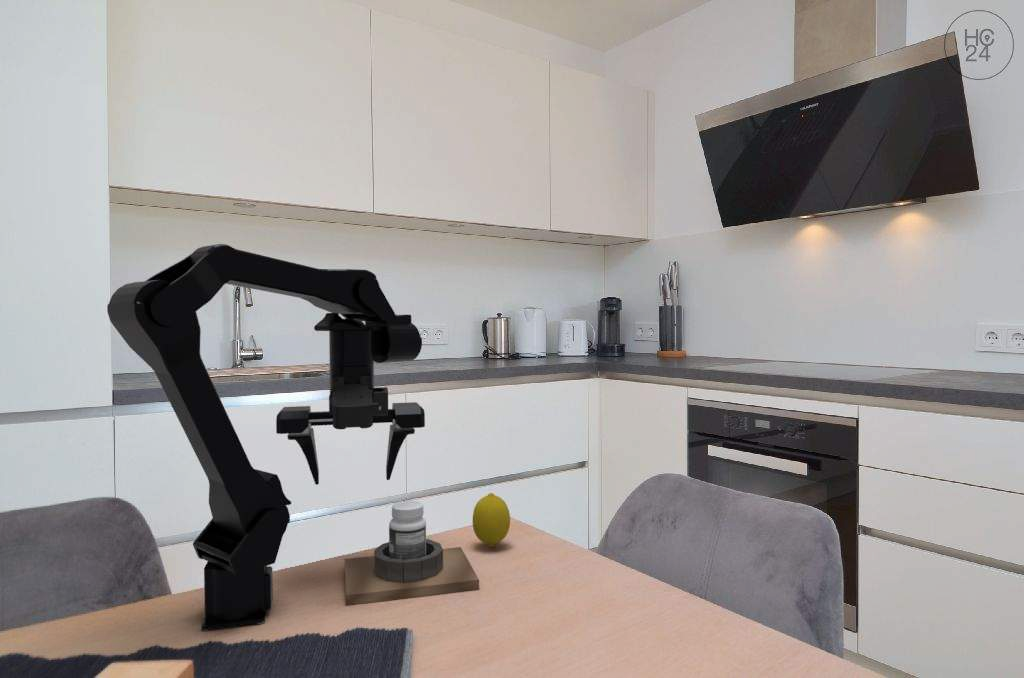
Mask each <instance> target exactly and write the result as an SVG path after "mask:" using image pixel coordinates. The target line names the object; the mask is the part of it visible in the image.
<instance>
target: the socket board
mask: <svg viewBox="0 0 1024 678" xmlns="http://www.w3.org/2000/svg"><path fill="white" fill-rule="evenodd" d="M373 551H374V553H373V555H370V556H360V557H359V556H358V557H349V558H344V561H343V562H344V583H345V606H353V605H359V604H360V605H361V604H369V603H377V602H386V601H392V600H393V601H394V600H402V599H410V598H419V597H426V596H435V595H442V594H451V593H459V592H460V593H461V592H468V591H475V590H480V579H479V577H478V575H477V573H476V571H475V570H474V568H473V566H472V564H471V563H470V561H469V559H468V557H467V556H466V553H465V552H464V550H463V549H462V547H461V546H456V547H448V548H447V547H445V548H443V547H442V545H441V543H440V542H438V541H434V540H432V539H427V538H426V556H424V557H421V558H415V559H406V560H403V559H393V558H389V541H388V542H385V543H382V544H380V545H379V546H378V547H376V548H375V549H374V550H373Z"/></svg>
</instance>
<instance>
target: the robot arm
mask: <svg viewBox="0 0 1024 678" xmlns="http://www.w3.org/2000/svg"><path fill="white" fill-rule="evenodd" d="M224 285H231V286H237V287H242V288H247V289H252V290H258V291H262V292H268V293H273V294H278V295H283V296H290V297H293V298H294V297H295V298H299V299H302V300H304V301H307V302H308V303H310V304H311V305H313V306H314V307H317V308H319V309H321V310H324V311H327V313H325V315H324V317H323V318H322V319H321V320H320V321H319V322H317V323H316V324H315V325H314V328H313V329H314V331H315V332H329V334H328V335H329V337H328V338H329V341H328V342H329V343H328V345H329V347H328V348H329V353H328V354H329V395H328V411H327V410H324V411H311V408H312V407H311V405H305V406H303V405H301V406H300V405H298V406H297V405H296V406H284V407H283V408H282V409H280V410H279V411H278V413H277V414H276V418H275V419H276V421H275V422H276V423H275V425H276V427H275V430H276V434H279V435H282V434H284V435H286V436H287V440H289V441H295V442H296V443H297V444H298V445H299V447H300V449H301V450H302V453H303V455H304V457H305V459H306V462H307V464H308V467H309V470H310V473H311V476H312V479H313V481H314V484H315V485H317V486H319V483H320V482H319V481H320V469H319V462H318V461H319V460H318V453H317V449H316V448H317V447H316V446H317V445H316V439H315V432H314V431H315V430H314V428H313V427H312V426H315V427H316V426H332V427H333V428H334V429H336V430H346V429H347V428H360V429H368V428H371V427H373V425H374V424H385V423H387V424H388V423H391V424H390V425H389V432H388V433H389V434H388V441H387V451H386V453H387V454H386V463H385V465H386V466H385V479H386V480H387V481H390V479H391V477H392V473H393V470H394V467H395V464H396V461H397V457H398V454H399V452H400V449H401V447H402V445H403V443H404V441H405V440H406V439H407V436H408V435H414V434H415V433H416V430H415V429H417V428H419V429H422V428H425V426H426V425H425V424H426V422H425V421H426V419H425V417H426V415H425V409H424V408H423V407H422V406H421V405H420V404H419V403H418V401H417V402H415V401H413V402H392V404H391V405H392V407H391V408H389V390H388V389H389V388H388V387H385V386H384V387H383V386H382V387H375V368H374V367H375V365H374V363H377V364H386V363H399V362H400V363H401V362H411V361H414V360H415V359H417V357H418V356H419V355H420V353H421V351H422V346H423V337H422V336H421V333H420V331H419V329H418V327H417V326H416V325H415V324H414V323H413V322H412V315H411V314H396V313H395V311H394V309H393V307H392V306H391V304H390V302H389V301H388V298H387V297H386V295H385V294H384V292H383V290H382V288H381V286H380V283H379V281H378V279H377V275H376V274H375V273H373V272H372V271H370V270H367V269H356V268H355V269H353V268H352V269H350V268H348V269H347V268H340V269H339V268H337V269H336V268H316V267H312V266H308V265H304V264H299V263H296V262H291V261H287V260H285V259H284V260H283V259H279V258H276V257H275V258H274V257H271V256H266V255H262V254H259V253H253V252H250V251H245V250H241V249H238V248H234V247H233V246H231V245H229V244H223V243H217V244H210V245H204V246H201V247H198V248H195V250H194V251H193V252H192V253H190V254H189V255H188V256H186V257H184V258H183V259H181V260H180V261H178V262H176V263H174V264H173V265H171V266H169V267H167V268H165V269H163V270H161V271H159V272H157V273H156V274H154V275H152V276H150V277H149V278H148V279H146V280H145V281H135V282H129V283H126V284H124V285H122V286H120V287H118V288H117V289H116V290H115V291H114V292H113V294H112V295H111V297H110V300H109V302H108V303H107V307H106V308H107V310H106V311H107V315H108V318H109V321H110V323H111V324H112V326H113V327H114V328H115V330H116V331H117V332H118V333H119V335H120V336H121V338H122V339H123V340H124V341H125V343H126V344H127V345H128V347H129V348H130V349H131V350H132V351H134V353H135V354H136V355H137V356H138V357H139V358H140V359H142V360H143V362H145V363H146V365H147V366H149V367H150V368H151V369H152V371H153V372H154V373H155V375H156V377H157V380H158V381H159V384H160V386H161V387H162V389H163V391H164V394H165V396H166V397H167V399H168V401H169V404H170V406H171V408H172V409H173V411H174V413H175V416H176V417H177V420H178V422H179V423H180V426H181V427H182V429H183V431H184V434H185V436H186V438H187V440H188V441H189V444H190V445H191V448H192V451H193V452H194V453H195V456H196V457H197V460H198V462H199V464H200V465H201V467H202V470H203V471H204V473H205V476H206V477H207V480H208V505H209V509H210V512H211V516H212V518H211V520H210V521H209V522H208V523H207V524H206V526H205V527H204V528H203V529H202V531H201V532H200V533H199V535H197V537H196V538H195V540H194V541H193V542H192V546H193V549H194V552H195V554H196V557H197V558H198V559H200V560H204V561H206V564H205V566H204V568H203V583H204V585H203V586H204V588H203V589H204V590H203V591H204V595H203V596H204V618H203V620H202V622H201V625H200V627H201V630H203V631H206V630H213V629H222V628H229V627H231V628H232V627H237V626H238V627H239V626H245V625H253V624H261V623H262V624H263V623H265V621H266V618H267V616H268V615H267V613H268V611H270V610H271V609H272V607H273V606H272V605H273V601H274V586H273V585H274V581H273V580H274V578H273V575H274V574H273V566H271V565H274V564H275V563H276V561H277V557H278V553H279V550H280V547H281V543H282V541H283V537H284V534H285V532H286V531H287V529H288V525H289V524H290V521H291V513H290V511H289V508H288V506H289V505H292V501H291V500H289V499H288V498H287V496H286V494H285V493H284V490H283V486H282V483H281V480H280V478H279V476H278V475H277V474H276V473H271V472H268V471H264V470H261V469H256V468H254V467H253V465H252V464H251V462H250V460H249V458H248V455H247V453H246V451H245V450H244V447H243V445H242V443H241V441H240V439H239V437H238V434H237V432H236V430H235V427H234V425H233V424H232V420H231V419H230V416H229V415H228V412H227V411H226V408H225V406H224V404H223V402H222V400H221V397H220V396H219V393H218V392H217V389H216V387H215V384H214V383H213V380H212V378H211V376H210V374H209V372H208V370H207V368H206V366H205V363H204V361H203V359H202V356H201V333H202V332H201V330H202V329H201V326H200V321H199V318H198V314H197V311H199V310H200V309H201V308H203V306H205V305H207V304H208V303H210V302H211V300H213V298H214V297H215V296H216V295H217V294H218V293H219V291H220V290H221V289H222V288H223V287H224ZM328 312H329V313H328ZM339 314H340V315H341V316H340V315H339ZM342 317H343V318H342Z"/></svg>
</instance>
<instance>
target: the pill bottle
mask: <svg viewBox="0 0 1024 678" xmlns="http://www.w3.org/2000/svg"><path fill="white" fill-rule="evenodd" d="M424 513H425V512H424V504H423V503H422V502H420V501H414V500H409V501H408V500H406V501H399V502H396V503H394V504H392V505H391V517H392V519H390V521H389V522H388V523H389V525H388V534H389V535H388V542H389V558H393V559H403V560H406V559H415V558H421V557H424V556H426V539H427V521H426V519H425V518H424V517H423V516H424Z"/></svg>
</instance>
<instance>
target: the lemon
mask: <svg viewBox="0 0 1024 678" xmlns="http://www.w3.org/2000/svg"><path fill="white" fill-rule="evenodd" d="M510 526H511V514H510V510H509V508H508V504H507V503H506V502H505V500H504V499H503V498H501V497H499V496H498V495H496V494H495V493H492V492H490V493H487V495H485V496H483V497H481V498H480V499H479V500H478V501H477V502H476V504H475V506H474V509H473V513H472V528H473V533H474V534H475V536H476V537H477V539H478V540H479V541H480V542H482V543H485V544H486V545H487V546H488V547H489V548H493V547H494V546H495V545H496V544H498V543H500V542H502V541H503V540H505V538H506V537H507V535H508V534H509V530H510Z"/></svg>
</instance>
